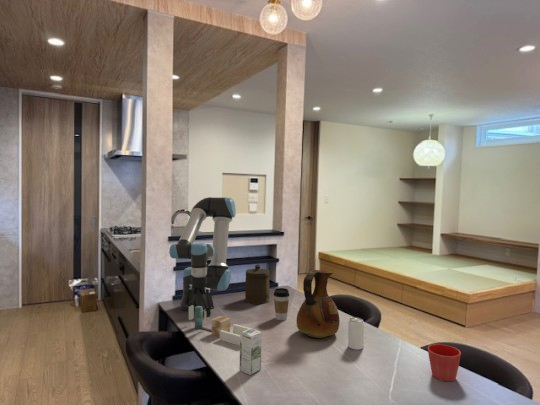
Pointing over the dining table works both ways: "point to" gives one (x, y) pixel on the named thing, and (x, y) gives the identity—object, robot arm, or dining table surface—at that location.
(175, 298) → the dining table surface
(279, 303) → the coffee cup
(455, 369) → the flower pot
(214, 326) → the corded oak block
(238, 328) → the rail lane
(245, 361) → the syrup box
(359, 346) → the can
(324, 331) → the ceramic pitcher
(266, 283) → the wooden container
